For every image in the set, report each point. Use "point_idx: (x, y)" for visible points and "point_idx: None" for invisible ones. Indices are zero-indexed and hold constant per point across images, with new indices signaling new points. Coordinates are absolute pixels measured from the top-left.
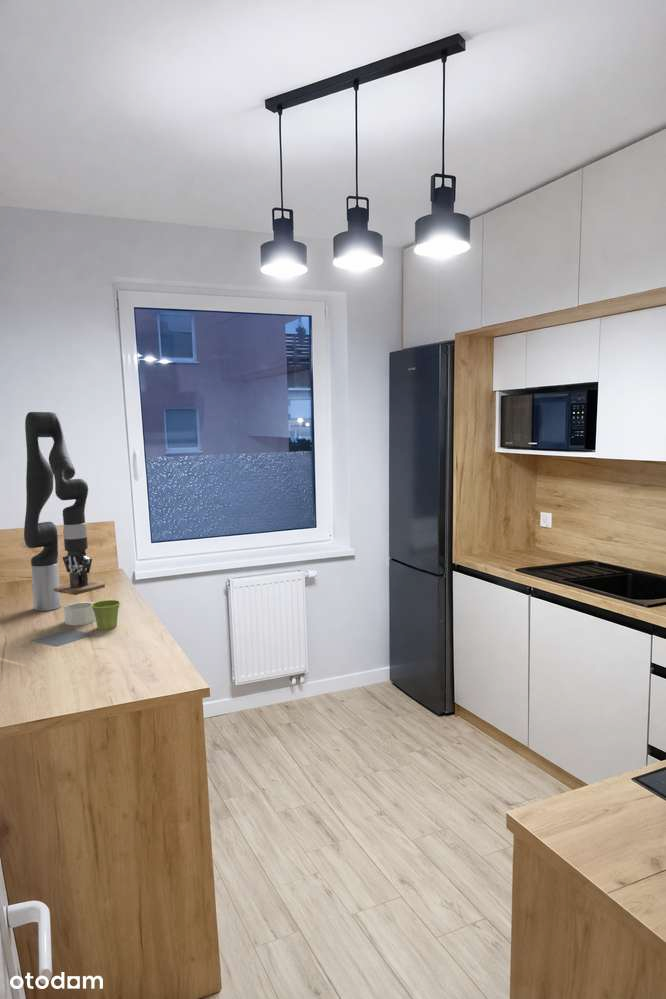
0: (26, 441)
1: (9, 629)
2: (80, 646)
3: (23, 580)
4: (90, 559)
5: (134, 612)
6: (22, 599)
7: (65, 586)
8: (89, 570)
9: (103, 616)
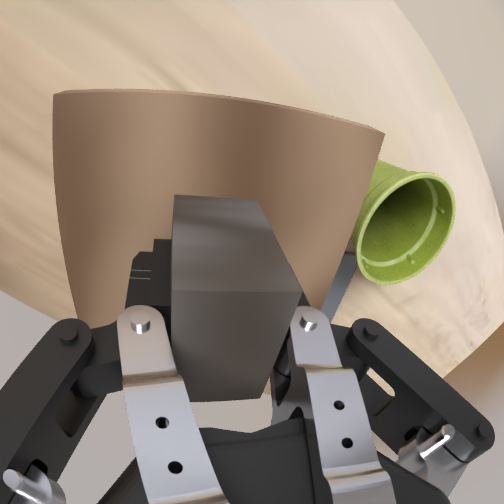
0: None
1: (44, 312)
2: (364, 312)
3: None
4: (480, 438)
5: None
6: None
7: (108, 299)
8: (395, 341)
9: (394, 244)
